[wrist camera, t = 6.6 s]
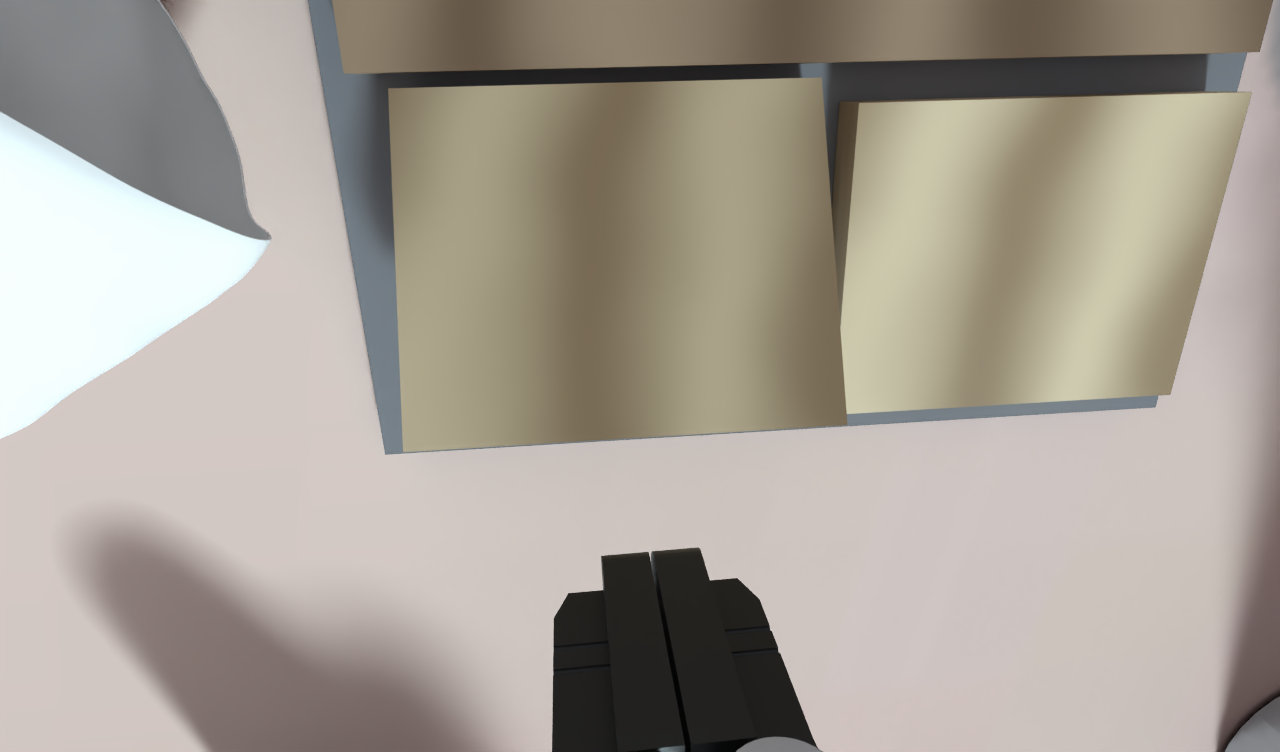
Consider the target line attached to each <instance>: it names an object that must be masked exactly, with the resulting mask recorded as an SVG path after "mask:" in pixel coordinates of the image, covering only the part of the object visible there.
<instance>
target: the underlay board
mask: <svg viewBox="0 0 1280 752" xmlns="http://www.w3.org/2000/svg"><path fill="white" fill-rule="evenodd" d="M308 3H309V9H310V15H311V21H312V27H313V32H314V38H315V44H316V50H317V56H318V62H319V68H320V74H321V79H322V85H323V91H324V97H325V103H326V109H327V115H328V121H329V127H330V132H331V138H332V144H333V150H334V156H335V162H336V168H337V174H338V179H339V185H340V191H341V197H342V203H343V209H344V215H345V221H346V227H347V232H348V238H349V244H350V250H351V256H352V262H353V268H354V274H355V279H356V285H357V291H358V297H359V303H360V309H361V315H362V321H363V326H364V332H365V338H366V344H367V350H368V356H369V362H370V368H371V374H372V379H373V385H374V391H375V397H376V403H377V409H378V415H379V421H380V426H381V432H382V438H383V444H384V450H385V454H402V453H418V452H434V451H451V450H467V449H483V448H500V447H516V446H532V445H549V444H565V443H581V442H597V441H614V440H630V439H646V438H663V437H679V436H695V435H712V434H728V433H744V432H761V431H777V430H793V429H809V428H826V427H842V426H858V425H875V424H891V423H907V422H924V421H940V420H956V419H973V418H989V417H1005V416H1022V415H1038V414H1054V413H1070V412H1087V411H1103V410H1119V409H1136V408H1152V407H1156V403H1157V400H1158V396H1159V395H1156V396H1139V397H1123V398H1106V399H1089V400H1073V401H1056V402H1039V403H1023V404H1006V405H990V406H973V407H956V408H940V409H923V410H906V411H890V412H873V413H856V414H847V424H848V425H841V426H824V427H808V428H792V429H775V430H759V431H743V432H726V433H710V434H694V435H677V436H661V437H645V438H628V439H612V440H596V441H579V442H563V443H547V444H530V445H514V446H498V447H481V448H465V449H448V450H432V451H416V452H403V439H402V415H401V391H400V366H399V342H398V318H397V293H396V269H395V245H394V220H393V196H392V172H391V147H390V123H389V99H388V88H424V87H464V86H504V85H543V84H583V83H623V82H662V81H702V80H742V79H781V78H821V77H822V88H823V102H824V115H825V128H826V142H827V155H828V169H829V182H830V196H831V209H832V198H833V184H834V171H835V158H836V144H837V131H838V117H839V104H840V101H869V100H905V99H941V98H977V97H1013V96H1049V95H1085V94H1121V93H1157V92H1193V91H1226V92H1237V89H1238V85H1239V82H1240V78H1241V74H1242V70H1243V66H1244V62H1245V58H1246V54H1247V52H1243V53H1221V54H1185V55H1143V56H1101V57H1058V58H1016V59H974V60H932V61H890V62H848V63H806V64H764V65H722V66H679V67H637V68H595V69H553V70H511V71H469V72H427V73H385V74H346V73H344V72H343V66H342V59H341V53H340V47H339V41H338V34H337V28H336V22H335V16H334V9H333V3H332V0H308Z"/></svg>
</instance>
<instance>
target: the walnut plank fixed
mask: <svg viewBox="0 0 1280 752" xmlns="http://www.w3.org/2000/svg"><path fill="white" fill-rule="evenodd" d="M332 3H333V9H334V16H335V22H336V28H337V34H338V41H339V47H340V53H341V59H342V66H343V72H344V73H346V74H385V73H427V72H469V71H511V70H553V69H595V68H637V67H679V66H722V65H764V64H806V63H848V62H890V61H932V60H974V59H1016V58H1058V57H1101V56H1143V55H1185V54H1221V53H1243V52H1260V48H1261V44H1262V40H1263V37H1264V33H1265V29H1266V25H1267V22H1268V18H1269V14H1270V10H1271V6H1272V3H1273V0H332Z"/></svg>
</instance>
